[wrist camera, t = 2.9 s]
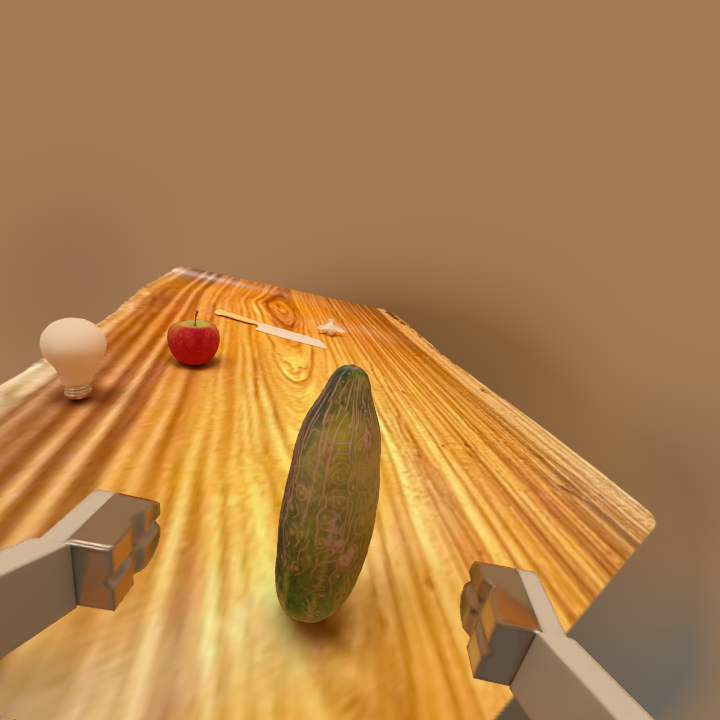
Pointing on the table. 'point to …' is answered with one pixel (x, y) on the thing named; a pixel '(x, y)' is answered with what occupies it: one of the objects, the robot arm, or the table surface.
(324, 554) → the vegetable
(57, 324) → the light bulb
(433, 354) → the table surface
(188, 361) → the apple
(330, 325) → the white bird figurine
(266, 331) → the knife
